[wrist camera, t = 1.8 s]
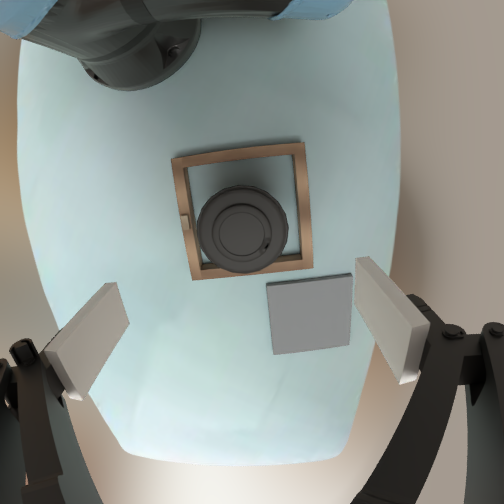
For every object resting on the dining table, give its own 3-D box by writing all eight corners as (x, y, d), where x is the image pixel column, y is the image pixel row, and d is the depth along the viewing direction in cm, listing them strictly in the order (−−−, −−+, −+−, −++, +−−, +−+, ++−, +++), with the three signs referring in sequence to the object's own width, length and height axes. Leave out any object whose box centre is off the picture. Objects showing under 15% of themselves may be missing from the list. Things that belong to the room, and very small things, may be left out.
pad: (266, 283, 37) (266, 286, 37) (350, 273, 37) (352, 276, 36) (273, 351, 41) (273, 354, 40) (347, 341, 41) (349, 344, 40)
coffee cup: (282, 241, 36) (292, 275, 26) (214, 246, 36) (201, 282, 26) (277, 173, 33) (287, 183, 23) (206, 179, 33) (187, 192, 24)
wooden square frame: (175, 158, 32) (169, 159, 30) (301, 142, 32) (305, 142, 29) (195, 273, 37) (191, 282, 35) (310, 261, 36) (314, 270, 34)
